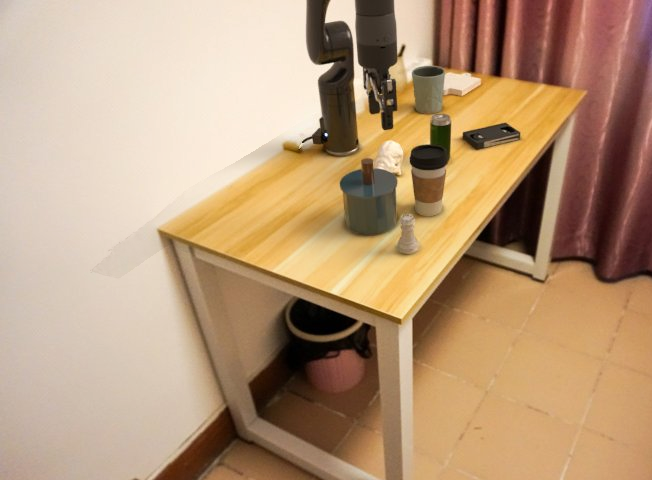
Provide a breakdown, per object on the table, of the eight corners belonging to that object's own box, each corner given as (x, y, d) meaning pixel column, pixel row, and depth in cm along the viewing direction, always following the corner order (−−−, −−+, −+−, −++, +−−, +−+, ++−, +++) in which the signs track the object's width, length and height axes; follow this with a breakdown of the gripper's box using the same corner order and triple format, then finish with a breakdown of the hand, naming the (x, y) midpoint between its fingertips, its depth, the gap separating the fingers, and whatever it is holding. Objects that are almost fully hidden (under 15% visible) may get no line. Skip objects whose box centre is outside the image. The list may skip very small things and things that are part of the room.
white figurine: (404, 139, 134) (384, 164, 126) (406, 168, 140) (387, 194, 132) (381, 135, 136) (360, 160, 129) (384, 164, 142) (364, 189, 134)
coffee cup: (435, 223, 120) (436, 162, 111) (403, 213, 124) (401, 153, 115) (453, 205, 126) (455, 146, 117) (421, 196, 129) (421, 138, 120)
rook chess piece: (403, 257, 111) (402, 225, 106) (393, 246, 114) (392, 214, 109) (422, 251, 112) (422, 219, 107) (412, 240, 115) (411, 208, 110)
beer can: (437, 167, 141) (438, 123, 133) (425, 159, 144) (425, 116, 137) (454, 161, 143) (455, 118, 136) (442, 153, 147) (442, 111, 139)
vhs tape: (476, 149, 148) (477, 143, 147) (462, 138, 154) (462, 132, 152) (520, 139, 152) (521, 132, 151) (505, 128, 158) (505, 122, 157)
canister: (338, 231, 119) (333, 193, 113) (356, 204, 127) (353, 168, 122) (387, 238, 116) (385, 200, 110) (402, 210, 125) (401, 174, 119)
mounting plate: (457, 98, 177) (458, 92, 176) (425, 91, 184) (425, 85, 182) (484, 82, 189) (484, 76, 188) (452, 75, 195) (452, 70, 194)
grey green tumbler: (449, 106, 173) (451, 68, 165) (434, 117, 166) (434, 78, 159) (422, 100, 177) (422, 63, 170) (406, 111, 170) (405, 73, 163)
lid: (331, 197, 113) (327, 171, 110) (352, 169, 123) (350, 144, 119) (387, 205, 110) (385, 178, 106) (404, 176, 119) (404, 151, 116)
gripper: (346, 30, 104) (353, 111, 114) (368, 51, 93) (373, 138, 103) (383, 26, 106) (387, 105, 116) (408, 45, 95) (410, 131, 105)
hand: (381, 121), depth 109 cm, fingers open, 8 cm apart
